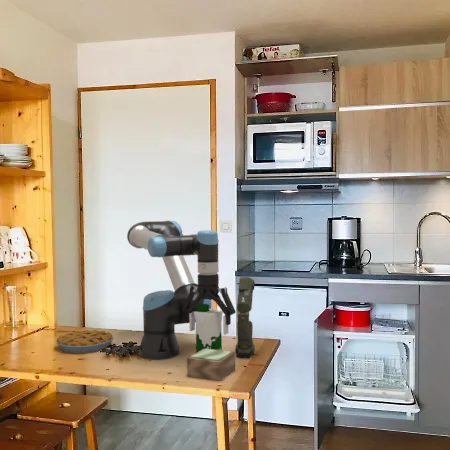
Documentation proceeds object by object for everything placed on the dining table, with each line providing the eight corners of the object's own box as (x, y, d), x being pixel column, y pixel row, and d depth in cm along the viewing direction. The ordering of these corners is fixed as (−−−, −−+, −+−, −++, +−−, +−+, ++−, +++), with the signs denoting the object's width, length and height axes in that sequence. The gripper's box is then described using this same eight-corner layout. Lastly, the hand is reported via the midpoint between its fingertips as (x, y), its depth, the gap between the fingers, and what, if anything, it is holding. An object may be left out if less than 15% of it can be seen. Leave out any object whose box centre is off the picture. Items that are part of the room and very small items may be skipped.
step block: (187, 376, 169) (187, 356, 168) (203, 365, 180) (203, 347, 179) (220, 381, 164) (220, 361, 163) (235, 369, 175) (235, 351, 174)
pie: (79, 358, 190) (79, 345, 190) (45, 348, 203) (44, 336, 203) (124, 345, 207) (124, 332, 207) (90, 337, 221) (89, 325, 220)
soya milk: (205, 355, 192) (204, 302, 191) (226, 359, 187) (225, 304, 186) (191, 361, 184) (191, 306, 183) (212, 365, 179) (212, 309, 178)
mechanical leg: (250, 359, 183) (253, 275, 189) (231, 358, 185) (234, 275, 191) (256, 357, 197) (258, 279, 202) (237, 356, 198) (240, 278, 204)
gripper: (172, 273, 186) (173, 331, 187) (235, 276, 175) (236, 337, 176) (182, 270, 193) (183, 326, 193) (244, 273, 182) (244, 332, 183)
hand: (208, 332), depth 185 cm, fingers open, 13 cm apart
